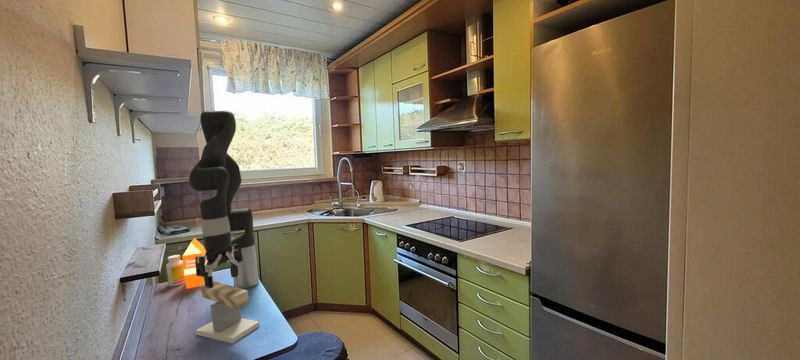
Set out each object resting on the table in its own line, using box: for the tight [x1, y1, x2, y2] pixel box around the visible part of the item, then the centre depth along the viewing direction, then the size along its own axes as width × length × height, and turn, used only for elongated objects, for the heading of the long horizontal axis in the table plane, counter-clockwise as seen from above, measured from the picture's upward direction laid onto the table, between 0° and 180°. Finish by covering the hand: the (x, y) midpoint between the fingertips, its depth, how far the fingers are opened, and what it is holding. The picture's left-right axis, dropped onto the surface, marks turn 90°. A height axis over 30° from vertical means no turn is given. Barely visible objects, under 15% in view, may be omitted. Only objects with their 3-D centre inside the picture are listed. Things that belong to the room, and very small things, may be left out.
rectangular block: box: [199, 280, 250, 309], centre depth 103 cm, size 20×4×4 cm, turn 58°
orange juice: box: [181, 237, 208, 290], centre depth 146 cm, size 8×9×20 cm
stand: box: [195, 302, 260, 345], centre depth 103 cm, size 16×10×10 cm, turn 66°
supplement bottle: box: [165, 254, 186, 287], centre depth 148 cm, size 7×7×13 cm
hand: (222, 282), depth 102 cm, fingers open, 8 cm apart
